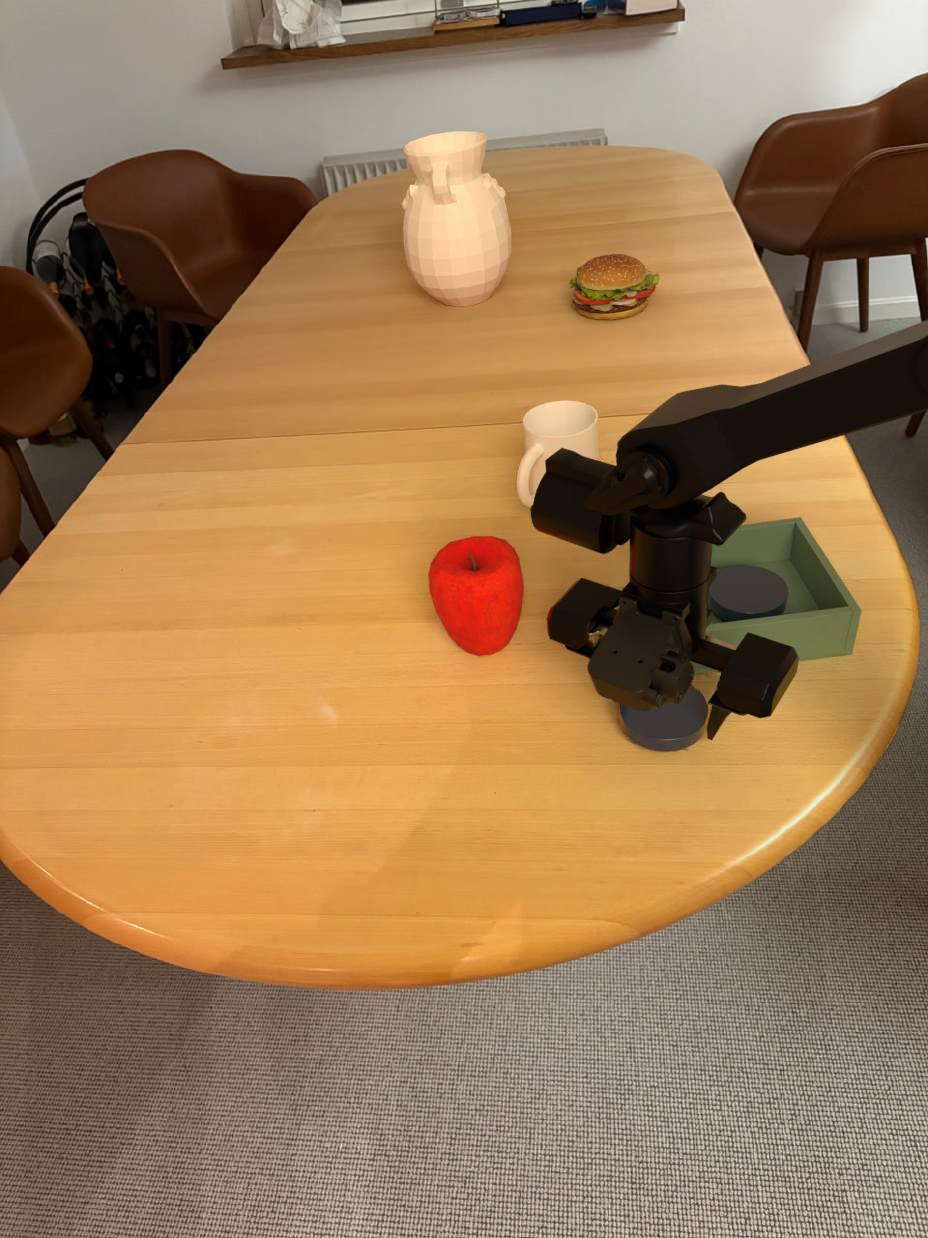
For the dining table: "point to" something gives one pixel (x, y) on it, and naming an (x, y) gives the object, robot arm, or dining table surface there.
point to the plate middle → (667, 723)
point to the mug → (554, 440)
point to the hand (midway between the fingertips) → (663, 716)
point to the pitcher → (455, 219)
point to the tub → (790, 592)
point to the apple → (478, 592)
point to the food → (612, 287)
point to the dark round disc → (747, 593)
